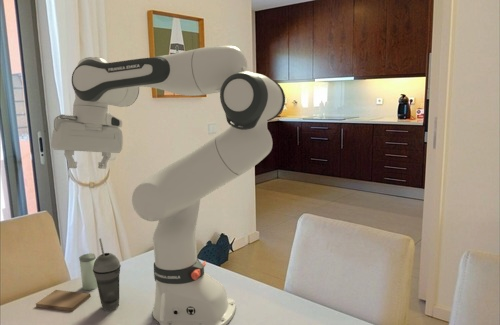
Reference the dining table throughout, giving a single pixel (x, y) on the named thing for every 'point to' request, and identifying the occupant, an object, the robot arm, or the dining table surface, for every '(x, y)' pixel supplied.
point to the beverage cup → (107, 279)
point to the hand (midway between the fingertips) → (87, 168)
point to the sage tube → (88, 271)
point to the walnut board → (63, 300)
